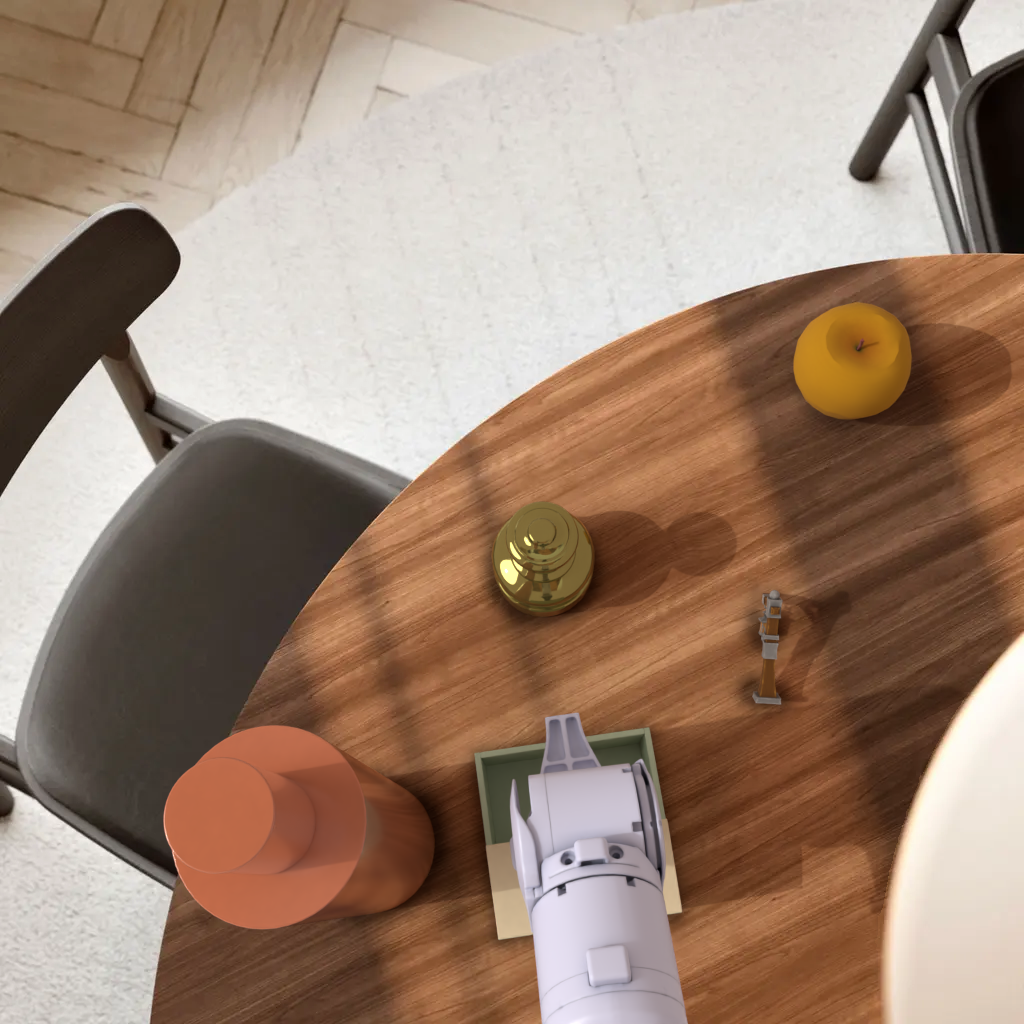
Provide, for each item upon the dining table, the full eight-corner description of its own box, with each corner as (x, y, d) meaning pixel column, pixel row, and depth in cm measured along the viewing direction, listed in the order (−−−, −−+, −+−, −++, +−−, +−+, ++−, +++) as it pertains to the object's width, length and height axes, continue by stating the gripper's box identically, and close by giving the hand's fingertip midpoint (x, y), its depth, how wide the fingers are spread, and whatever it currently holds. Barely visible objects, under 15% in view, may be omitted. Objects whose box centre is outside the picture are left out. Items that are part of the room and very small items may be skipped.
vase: (403, 934, 79) (272, 976, 43) (285, 882, 81) (63, 881, 45) (454, 808, 82) (370, 748, 46) (339, 760, 83) (169, 665, 47)
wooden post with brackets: (779, 581, 85) (790, 592, 80) (771, 688, 86) (782, 705, 81) (754, 580, 85) (763, 591, 81) (747, 687, 86) (756, 703, 81)
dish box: (673, 910, 79) (682, 912, 74) (502, 936, 79) (498, 940, 74) (643, 737, 83) (649, 727, 77) (480, 761, 83) (474, 753, 77)
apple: (825, 318, 92) (852, 262, 84) (915, 381, 90) (951, 329, 82) (760, 394, 91) (780, 344, 82) (850, 460, 89) (880, 415, 80)
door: (681, 911, 73) (682, 912, 73) (498, 938, 73) (498, 939, 73) (666, 818, 74) (667, 818, 74) (485, 845, 74) (485, 845, 74)
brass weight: (608, 545, 87) (614, 504, 78) (568, 634, 85) (569, 602, 76) (519, 507, 88) (514, 462, 79) (478, 594, 87) (468, 558, 77)
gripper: (488, 714, 63) (501, 743, 76) (527, 1000, 58) (533, 979, 71) (617, 695, 63) (607, 727, 76) (666, 980, 58) (646, 962, 71)
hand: (579, 848), depth 74 cm, fingers closed
